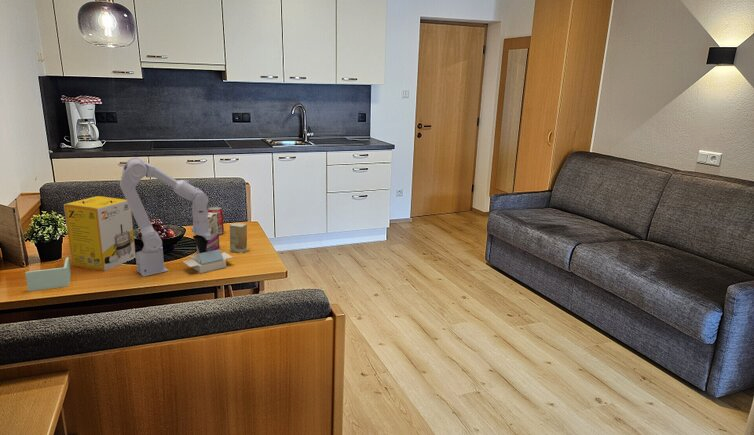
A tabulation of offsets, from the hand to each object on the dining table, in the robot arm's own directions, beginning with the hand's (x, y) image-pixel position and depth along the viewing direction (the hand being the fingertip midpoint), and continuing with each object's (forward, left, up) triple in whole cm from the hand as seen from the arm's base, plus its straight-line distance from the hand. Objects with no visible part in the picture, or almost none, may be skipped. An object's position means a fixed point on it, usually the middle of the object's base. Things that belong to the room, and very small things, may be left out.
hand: (202, 252), depth 200 cm
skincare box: (+19, +6, -5) cm, 21 cm away
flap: (0, -8, 0) cm, 8 cm away
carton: (0, -3, -5) cm, 6 cm away
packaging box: (-30, +26, -5) cm, 40 cm away
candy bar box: (+8, +13, -5) cm, 16 cm away
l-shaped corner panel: (-51, +14, -6) cm, 53 cm away
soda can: (+22, +35, -5) cm, 41 cm away
